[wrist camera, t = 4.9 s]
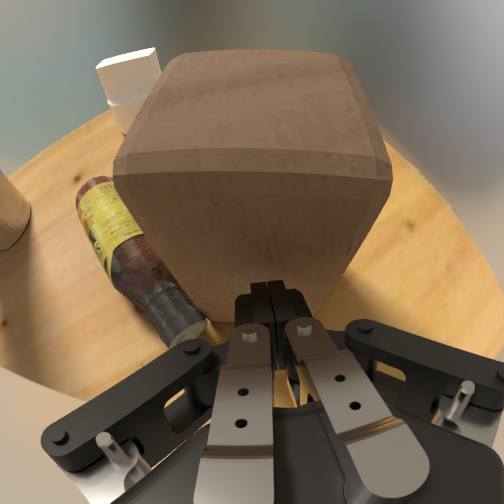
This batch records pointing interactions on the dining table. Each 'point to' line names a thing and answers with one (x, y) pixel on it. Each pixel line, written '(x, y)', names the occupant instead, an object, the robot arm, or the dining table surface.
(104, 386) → the dining table surface
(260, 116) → the block
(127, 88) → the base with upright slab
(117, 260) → the sauce bottle
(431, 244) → the dining table surface
